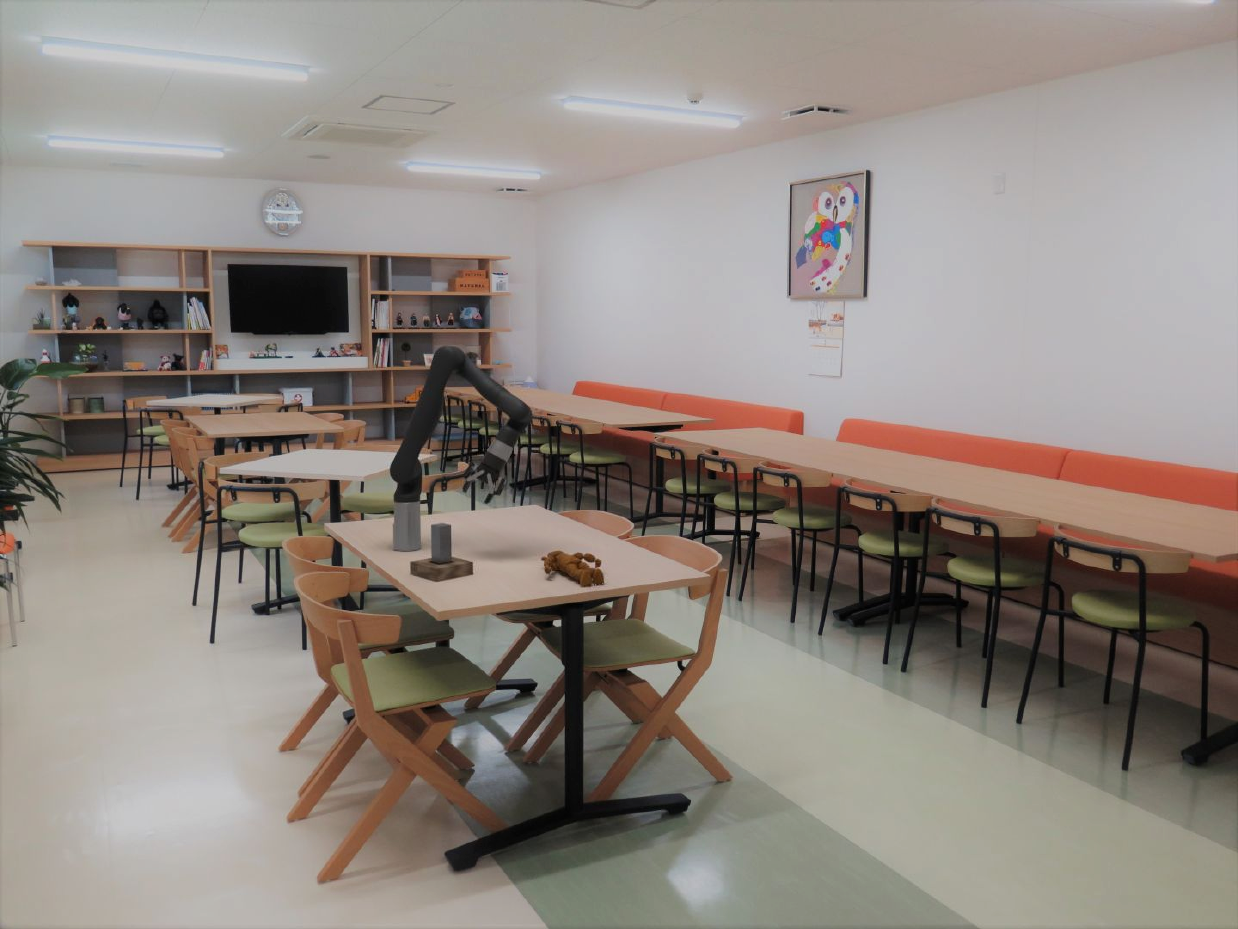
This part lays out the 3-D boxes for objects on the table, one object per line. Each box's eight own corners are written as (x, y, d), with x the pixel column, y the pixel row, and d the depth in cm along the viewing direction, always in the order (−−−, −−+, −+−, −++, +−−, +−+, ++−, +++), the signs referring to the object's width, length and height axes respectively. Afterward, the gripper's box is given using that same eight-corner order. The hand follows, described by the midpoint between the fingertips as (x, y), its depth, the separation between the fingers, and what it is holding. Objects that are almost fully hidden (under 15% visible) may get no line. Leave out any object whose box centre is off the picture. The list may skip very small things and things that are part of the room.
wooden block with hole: (436, 581, 302) (436, 569, 302) (410, 574, 312) (410, 561, 311) (472, 574, 312) (472, 562, 312) (446, 567, 322) (446, 555, 321)
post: (440, 576, 309) (439, 526, 307) (431, 574, 312) (430, 524, 310) (451, 574, 312) (451, 524, 310) (443, 571, 315) (442, 522, 313)
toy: (621, 586, 304) (576, 562, 330) (621, 564, 303) (576, 542, 329) (564, 594, 294) (522, 569, 320) (564, 571, 293) (522, 548, 319)
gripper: (476, 444, 329) (453, 487, 328) (512, 462, 326) (489, 506, 325) (483, 448, 336) (460, 490, 335) (518, 466, 333) (495, 509, 332)
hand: (474, 498), depth 330 cm, fingers open, 8 cm apart
